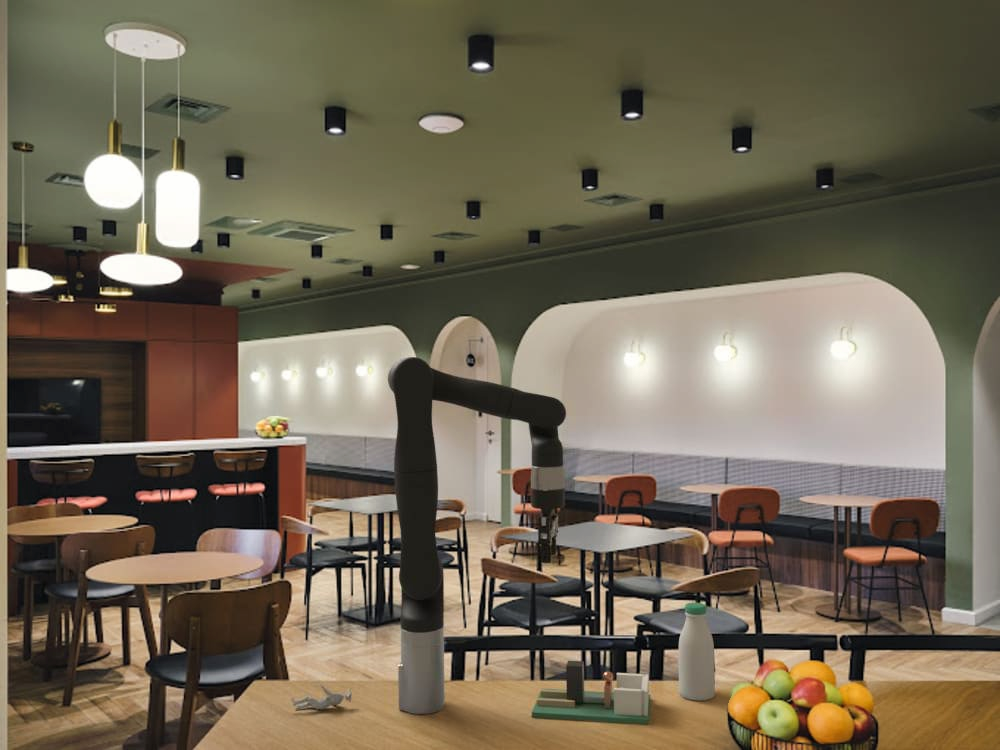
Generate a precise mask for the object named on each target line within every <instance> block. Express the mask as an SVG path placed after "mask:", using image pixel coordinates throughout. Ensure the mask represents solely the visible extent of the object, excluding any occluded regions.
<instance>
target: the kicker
mask: <svg viewBox="0 0 1000 750" xmlns="http://www.w3.org/2000/svg"><path fill="white" fill-rule="evenodd" d="M565 665H566V666H565V669H566V672H565V673H566V675H565V676H566V690H567V700H575V704H583V702H587V703H604V704H605V708H611V702H612V692H613V680H614V674H613V673H612V672H611V671H604V673H603V674H602V679H603V682H604V688H603V689H604V691H603V692H604V695H594V694H584V691H585V661H584V660H567V663H566V664H565Z"/></svg>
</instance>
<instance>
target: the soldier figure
mask: <svg viewBox="0 0 1000 750" xmlns="http://www.w3.org/2000/svg"><path fill="white" fill-rule="evenodd" d="M318 686H319V687H320V688H321V689H322V691H323V692H324V694H325V696H323V697H320V700H319V699H318V698H315V697H313V696H310V695H306V696H305V697H303V698H301V699H297V700H295V697H294V696H292V697H291V702H292V706H293V707H295V710H296V709H298V710H300V709H304V708H308V707H312V708H314V709H315V708H316V709H315V710H318V709H324V710H326V709H328V708H329V707H330V706H333V705H337V706H338V705H341V704H342V702H343V701H344V700H343V699H345V701H348V702H349V703H351V701H352V692H351V690H350V689H349V687H348V688H347V689H346V690H347V691H345V693H344V694H342V693H340V692H337V691H336V692H331V691H330V690H328V689H327V688H326V687H325V686H324V685H323V684H322V683H318ZM299 708H300V709H299Z"/></svg>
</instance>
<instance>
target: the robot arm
mask: <svg viewBox="0 0 1000 750" xmlns="http://www.w3.org/2000/svg"><path fill="white" fill-rule="evenodd" d="M387 383H388V387H389V388H390V390H391V391H392V392H393V395H394V399H395V400H394V402H395V409H396V417H397V430H396V437H395V438H396V439H395V446H394V456H393V457H394V459H393V461H394V463H393V472H394V474H393V475H394V489H395V500H396V509H397V510H396V511H397V517H398V523H399V530H400V557H399V558H400V560H399V572H398V581H399V585H400V587H401V606H400V607H401V608H400V655H401V656H400V657H401V658H400V659H401V662H400V663H399V664H398V665H397V670H398V672H397V673H398V677H397V678H398V682H397V683H398V684H397V685H398V710H399V711H404V712H406V713H409V714H413V715H415V714H416V715H426V714H433V713H436V712H439V711H441V710H443V708H445V699H446V697H445V696H446V695H445V639H444V638H445V636H444V635H445V633H444V631H445V630H444V629H445V628H444V626H445V625H444V617H445V616H444V615H445V614H444V613H445V600H444V599H445V597H444V596H445V595H444V592H445V591H444V590H445V586H444V585H445V583H444V582H445V581H444V576H445V575H444V567H443V566H444V565H443V562H442V560H441V559H440V557H439V554H438V549H437V539H436V526H437V525H436V524H437V513H438V505H439V504H438V503H439V502H438V501H439V477H438V463H437V460H438V459H437V453H436V452H437V451H436V442H435V436H434V429H433V401H436V402H437V401H438V402H442V403H446V404H447V403H448V404H452V405H455V406H459V407H461V408H465V409H469V410H472V411H475V412H479V413H482V414H486V415H489V416H493V417H498V418H502V419H507V420H514V421H520V422H523V423H526V424H528V430H529V435H530V442H531V472H530V505H531V506H530V507H532V508H533V509H537V510H540V511H541V512H540V515H539V516H538V517H537V527H538V528H537V533H538V534H537V538H538V539H537V543H538V545H539V546H540V562H541V563H542V564H550V563H552V556H555V555H556V554H557V538H558V533H559V524H558V521H559V514H558V512H559V510H558V509H562V508H564V507H565V504H566V500H565V499H566V497H565V496H566V494H565V493H566V492H565V491H566V490H565V489H566V488H565V482H566V481H565V472H564V471H565V470H564V449H563V448H564V447H563V444H562V442H561V440H560V437H559V427H560V426H561V425H562V424H563V423H564V422H565V419H566V418H567V417H566V416H567V410H566V408H565V404H563V402H562V401H561V400H560V399H558V398H556V397H553V396H548V395H543V394H538V393H533V392H528V391H523V390H522V389H521V390H520V389H518V388H515V387H510V386H506V385H504V384H498V383H494V382H491V381H485V380H479V379H473V378H467V377H461V376H457V375H453V374H450V373H446V372H442V371H440V370H437V369H435V368H433V367H431V366H430V365H429V363H428V362H427V361H425V360H424V359H423V358H420V357H417V356H409V357H405V358H401V359H399V360H397V361H396V362H394V364H392V366H391V367H390V369H389V371H388V373H387ZM544 537H545V538H544Z"/></svg>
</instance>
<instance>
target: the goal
mask: <svg viewBox="0 0 1000 750" xmlns="http://www.w3.org/2000/svg"><path fill="white" fill-rule="evenodd" d="M649 677H650V676H649V674H646V673H645V674H644V673H629V672H628V673H627V672H616V687H614V688H613V693H614V714H622V715H638V716H648V702H649V695H650V691H649V690H650V688H649V687H650V685H649V684H650V681H649Z"/></svg>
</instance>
